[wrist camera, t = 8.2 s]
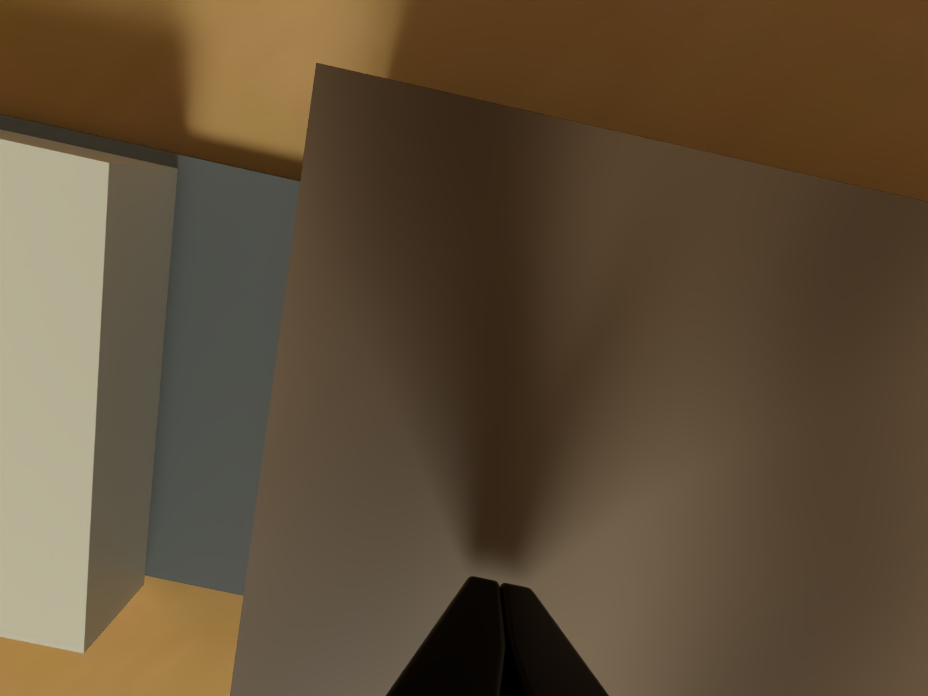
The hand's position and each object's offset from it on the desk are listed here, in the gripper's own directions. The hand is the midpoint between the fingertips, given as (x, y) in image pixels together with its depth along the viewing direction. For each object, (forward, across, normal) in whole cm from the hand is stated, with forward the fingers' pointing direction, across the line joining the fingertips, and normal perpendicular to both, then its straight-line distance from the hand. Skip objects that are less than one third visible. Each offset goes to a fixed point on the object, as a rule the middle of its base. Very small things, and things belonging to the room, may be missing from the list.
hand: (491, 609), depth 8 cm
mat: (+4, +7, 0) cm, 8 cm away
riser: (+5, -4, 0) cm, 6 cm away
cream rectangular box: (+2, +10, 0) cm, 10 cm away
